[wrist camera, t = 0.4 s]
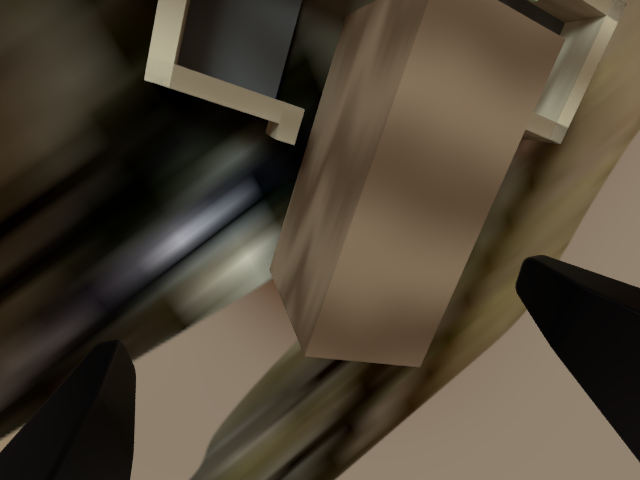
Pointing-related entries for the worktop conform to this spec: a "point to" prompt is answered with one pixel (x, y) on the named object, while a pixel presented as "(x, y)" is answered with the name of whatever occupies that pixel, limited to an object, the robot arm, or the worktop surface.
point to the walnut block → (404, 170)
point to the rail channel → (275, 37)
